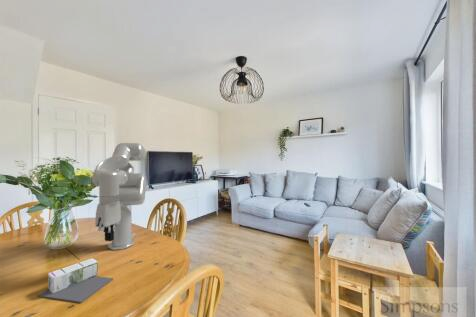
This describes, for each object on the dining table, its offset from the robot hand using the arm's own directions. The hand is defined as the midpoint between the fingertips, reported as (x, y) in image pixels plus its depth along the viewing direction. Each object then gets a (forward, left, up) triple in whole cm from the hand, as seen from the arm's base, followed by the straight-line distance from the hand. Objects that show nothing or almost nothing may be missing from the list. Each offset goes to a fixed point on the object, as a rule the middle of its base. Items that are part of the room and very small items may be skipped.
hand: (109, 240), depth 93 cm
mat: (+15, 0, -12) cm, 19 cm away
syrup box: (+6, -1, -9) cm, 11 cm away
